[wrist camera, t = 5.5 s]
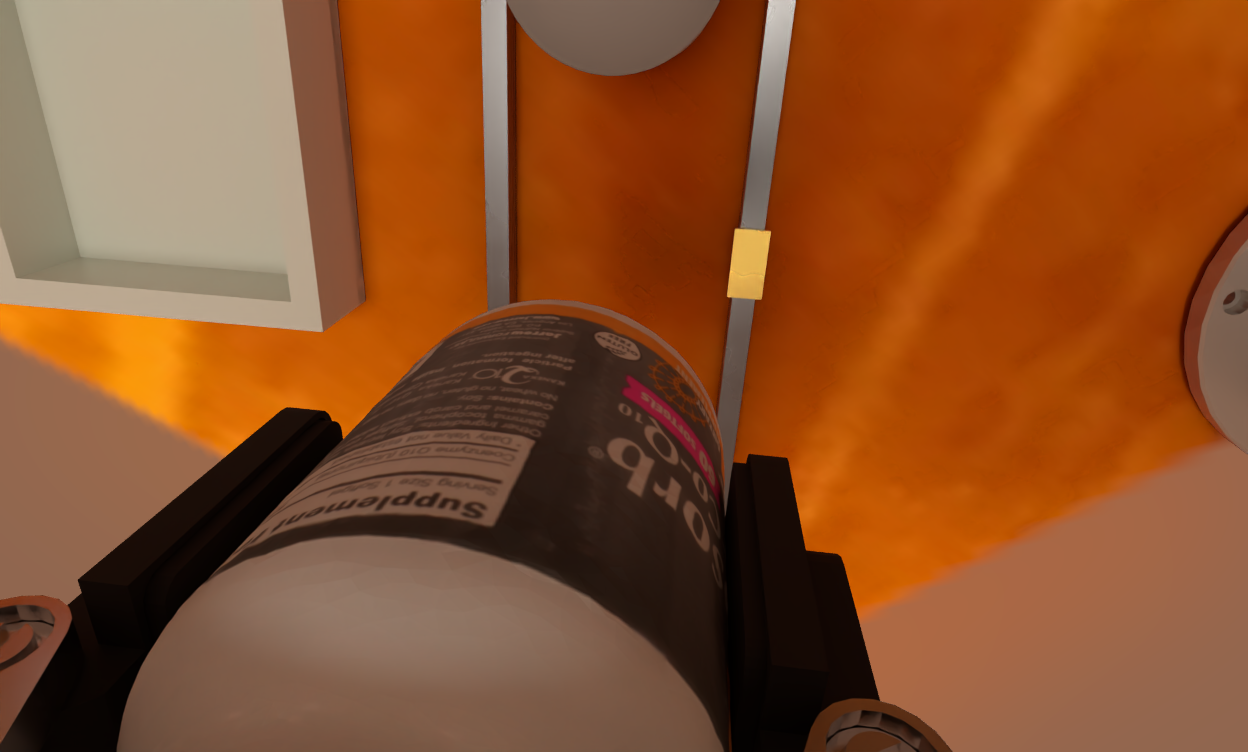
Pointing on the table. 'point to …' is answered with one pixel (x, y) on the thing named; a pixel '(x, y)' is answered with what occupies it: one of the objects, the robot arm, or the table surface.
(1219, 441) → the table surface
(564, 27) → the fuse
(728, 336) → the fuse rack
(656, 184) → the table surface
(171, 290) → the tray
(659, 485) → the pill bottle
